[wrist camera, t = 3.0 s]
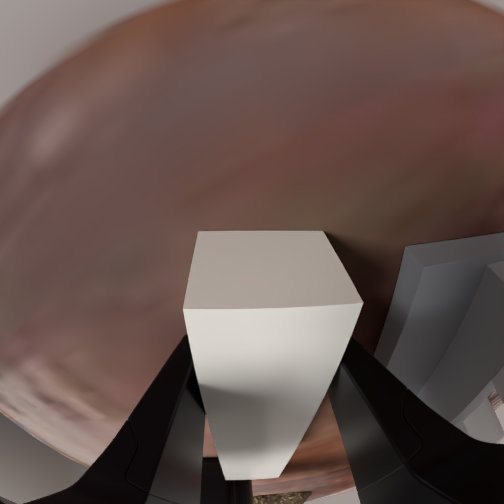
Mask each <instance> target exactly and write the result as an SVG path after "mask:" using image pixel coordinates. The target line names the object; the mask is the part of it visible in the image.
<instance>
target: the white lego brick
mask: <svg viewBox="0 0 504 504" xmlns="http://www.w3.org/2000/svg"><path fill="white" fill-rule="evenodd" d="M463 422H464V424H465V426H466V429H467V431H468V433H469V436H470V437H472V438H474V439H477V440H480V441H483V442H489V443H497V444H499V442H500V441H501V440H502V439H503V438H504V431H503V429H502V426H501V424H500V422H499V420H498V418H497V416H496V413H495V411H494V409H493V407H492V405H491V403H490V401H489V399H488V397H487V398H486V399H485V400H484V401H483V402H482V403H481V404H480V405H479V406H478V407H477V408H476V409H475V410H474V411H473V412H472V413H471V414H470V415H469V416H468V417H467V418H466V419H465V420H464V421H463Z"/></svg>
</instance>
